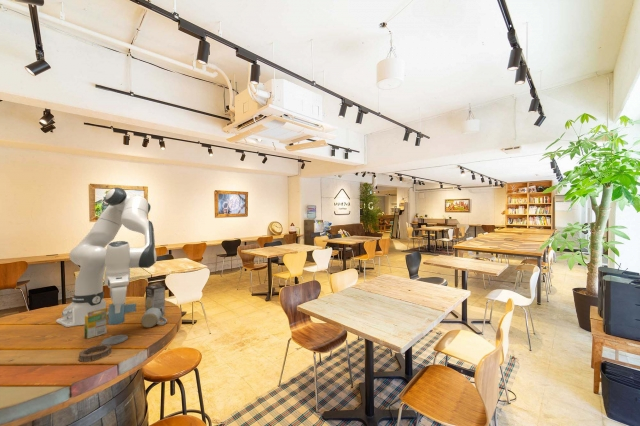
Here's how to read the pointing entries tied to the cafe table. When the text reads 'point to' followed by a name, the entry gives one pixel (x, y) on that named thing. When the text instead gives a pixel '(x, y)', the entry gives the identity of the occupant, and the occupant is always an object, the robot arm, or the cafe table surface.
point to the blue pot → (119, 317)
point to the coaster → (115, 339)
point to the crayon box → (96, 323)
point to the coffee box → (155, 298)
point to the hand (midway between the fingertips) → (116, 310)
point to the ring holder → (91, 357)
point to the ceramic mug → (152, 318)
